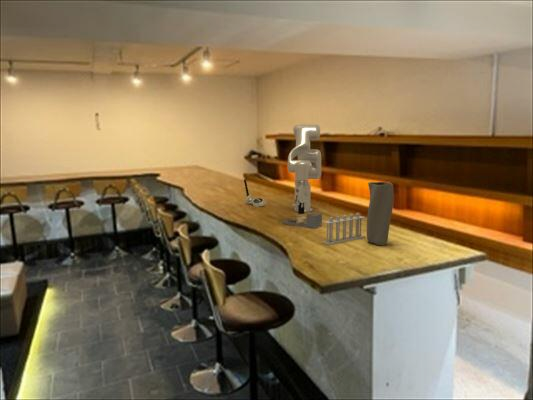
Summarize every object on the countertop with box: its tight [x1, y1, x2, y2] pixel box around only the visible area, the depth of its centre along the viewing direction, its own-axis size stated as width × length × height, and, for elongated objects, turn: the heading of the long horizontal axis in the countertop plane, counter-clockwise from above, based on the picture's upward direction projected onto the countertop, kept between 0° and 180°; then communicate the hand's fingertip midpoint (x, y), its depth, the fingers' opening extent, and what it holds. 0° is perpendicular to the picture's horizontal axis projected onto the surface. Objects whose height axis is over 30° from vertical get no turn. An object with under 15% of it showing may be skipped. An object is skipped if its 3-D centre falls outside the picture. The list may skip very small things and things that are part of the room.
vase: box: [366, 181, 395, 246], centre depth 201 cm, size 12×12×30 cm
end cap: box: [305, 212, 323, 230], centre depth 238 cm, size 6×8×8 cm
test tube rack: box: [322, 212, 367, 246], centre depth 209 cm, size 25×4×13 cm, turn 121°
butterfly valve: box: [243, 178, 267, 208], centre depth 304 cm, size 9×20×17 cm
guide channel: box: [281, 219, 306, 228], centre depth 245 cm, size 16×6×2 cm, turn 58°
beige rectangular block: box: [295, 215, 306, 224], centre depth 241 cm, size 12×4×5 cm, turn 50°
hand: (301, 213), depth 243 cm, fingers closed
